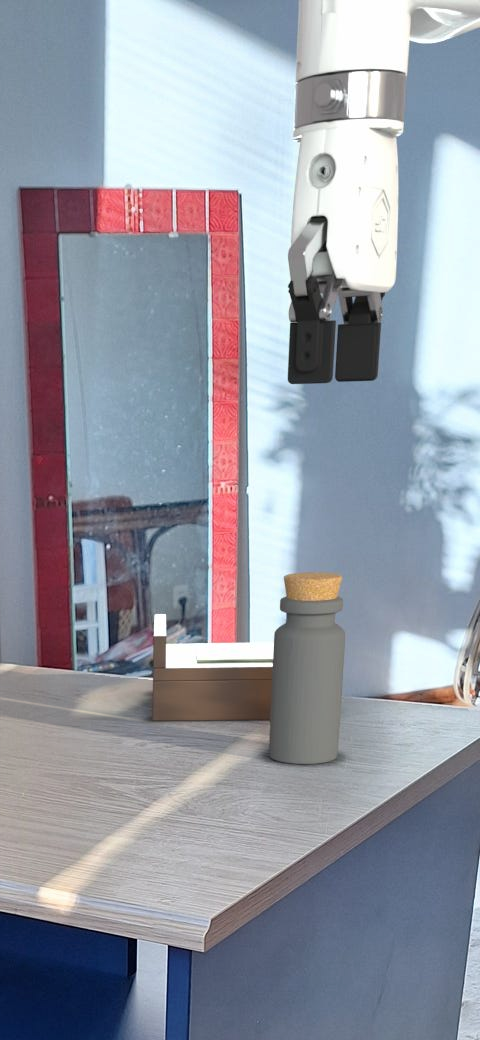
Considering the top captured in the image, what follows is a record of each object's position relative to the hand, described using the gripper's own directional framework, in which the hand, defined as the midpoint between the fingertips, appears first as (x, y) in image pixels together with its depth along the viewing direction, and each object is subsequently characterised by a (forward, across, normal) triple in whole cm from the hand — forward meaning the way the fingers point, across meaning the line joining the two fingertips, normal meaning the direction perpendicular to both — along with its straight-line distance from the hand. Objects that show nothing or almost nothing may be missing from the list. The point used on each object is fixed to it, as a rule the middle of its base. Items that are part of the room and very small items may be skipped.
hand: (333, 382), depth 109 cm
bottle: (+30, +5, +3) cm, 30 cm away
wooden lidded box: (+30, +23, +17) cm, 41 cm away
